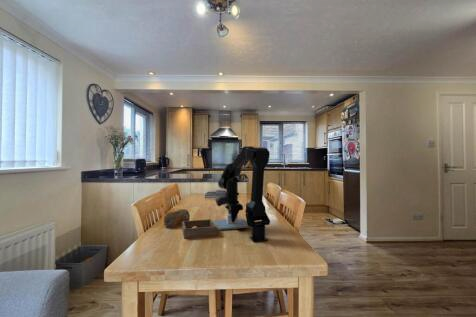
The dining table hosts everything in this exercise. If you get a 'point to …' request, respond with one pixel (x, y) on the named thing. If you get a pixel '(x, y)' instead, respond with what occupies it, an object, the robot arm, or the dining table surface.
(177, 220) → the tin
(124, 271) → the dining table surface
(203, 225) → the box
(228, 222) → the lid
